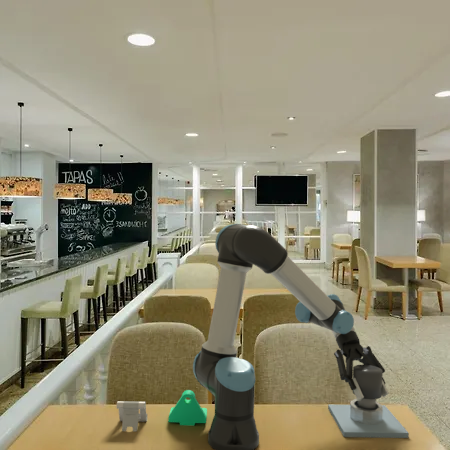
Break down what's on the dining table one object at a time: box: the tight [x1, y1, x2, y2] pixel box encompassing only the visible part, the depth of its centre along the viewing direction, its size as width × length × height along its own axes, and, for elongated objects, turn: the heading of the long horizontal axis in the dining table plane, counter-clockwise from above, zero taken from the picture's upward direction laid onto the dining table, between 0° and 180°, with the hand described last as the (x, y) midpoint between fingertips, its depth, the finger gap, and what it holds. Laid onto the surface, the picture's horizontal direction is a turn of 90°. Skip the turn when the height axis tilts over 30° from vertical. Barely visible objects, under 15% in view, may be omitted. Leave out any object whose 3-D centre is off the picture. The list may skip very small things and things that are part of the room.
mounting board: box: [327, 403, 410, 439], centre depth 151 cm, size 20×20×2 cm
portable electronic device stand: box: [116, 400, 148, 432], centre depth 145 cm, size 9×8×8 cm
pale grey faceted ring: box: [349, 398, 383, 425], centre depth 151 cm, size 10×10×4 cm
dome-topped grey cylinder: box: [352, 364, 384, 409], centre depth 151 cm, size 9×9×12 cm
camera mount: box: [167, 389, 208, 427], centre depth 150 cm, size 12×8×10 cm, turn 90°
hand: (373, 397), depth 148 cm, fingers closed on dome-topped grey cylinder, 9 cm apart
